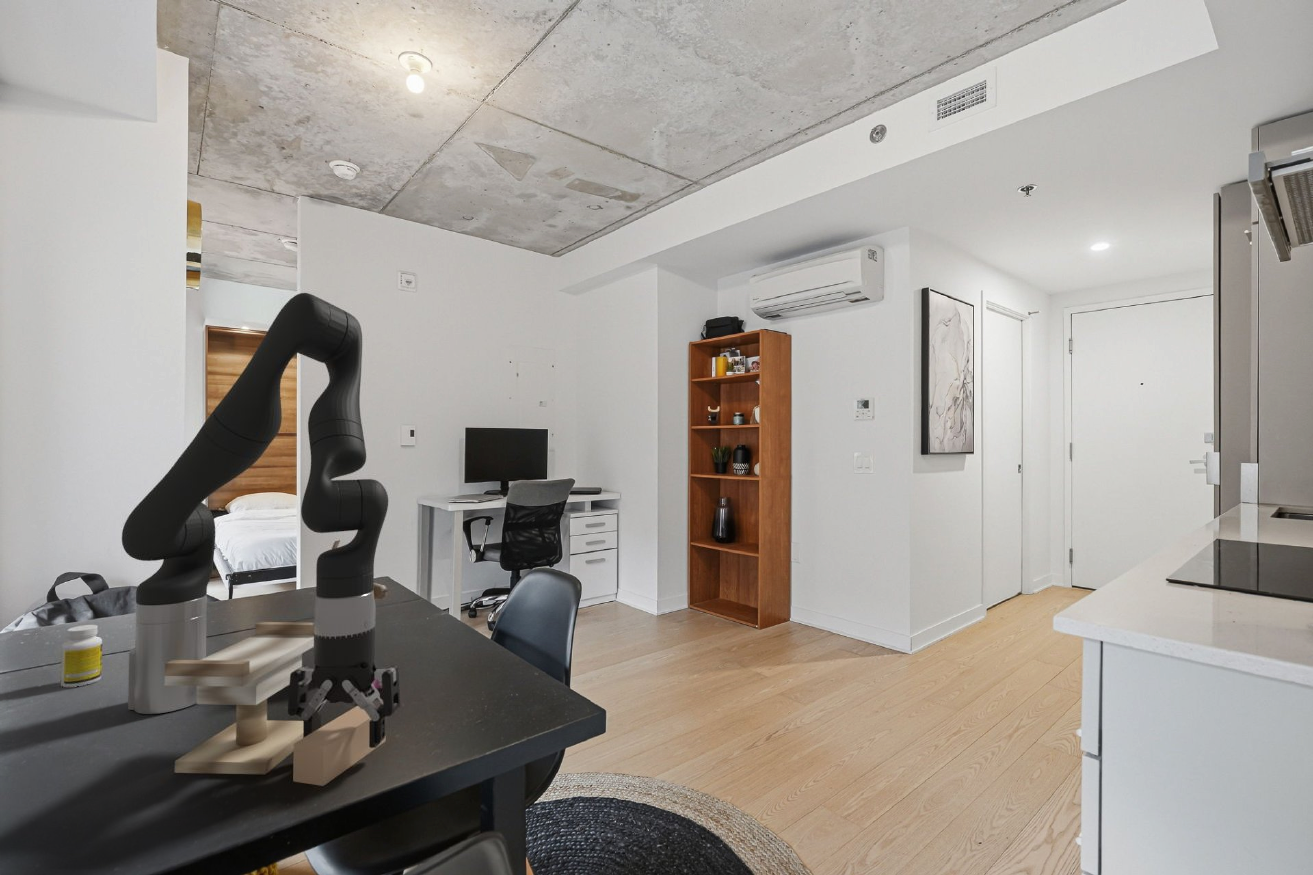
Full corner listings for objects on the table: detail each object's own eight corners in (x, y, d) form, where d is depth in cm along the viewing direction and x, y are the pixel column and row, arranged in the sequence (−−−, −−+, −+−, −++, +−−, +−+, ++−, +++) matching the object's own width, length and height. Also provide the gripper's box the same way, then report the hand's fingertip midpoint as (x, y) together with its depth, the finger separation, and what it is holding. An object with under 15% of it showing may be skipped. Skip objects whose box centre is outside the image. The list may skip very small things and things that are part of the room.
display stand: (155, 785, 77) (157, 662, 77) (253, 720, 95) (254, 621, 95) (249, 787, 77) (250, 664, 77) (329, 722, 95) (330, 622, 95)
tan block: (293, 782, 78) (293, 743, 78) (358, 738, 90) (359, 704, 90) (323, 787, 77) (323, 747, 77) (385, 742, 89) (386, 707, 89)
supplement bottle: (108, 679, 111) (108, 625, 111) (69, 690, 106) (70, 633, 106) (92, 674, 114) (93, 621, 114) (54, 685, 109) (55, 629, 109)
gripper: (408, 618, 87) (408, 732, 87) (309, 617, 88) (309, 731, 88) (384, 634, 80) (383, 759, 80) (276, 633, 80) (275, 758, 80)
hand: (344, 744), depth 84 cm, fingers open, 8 cm apart
